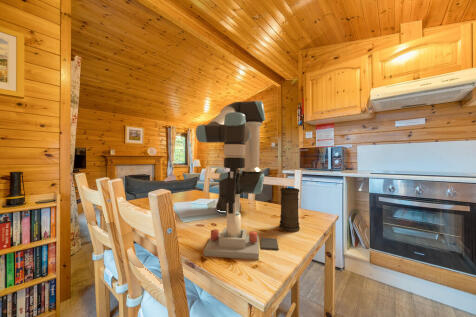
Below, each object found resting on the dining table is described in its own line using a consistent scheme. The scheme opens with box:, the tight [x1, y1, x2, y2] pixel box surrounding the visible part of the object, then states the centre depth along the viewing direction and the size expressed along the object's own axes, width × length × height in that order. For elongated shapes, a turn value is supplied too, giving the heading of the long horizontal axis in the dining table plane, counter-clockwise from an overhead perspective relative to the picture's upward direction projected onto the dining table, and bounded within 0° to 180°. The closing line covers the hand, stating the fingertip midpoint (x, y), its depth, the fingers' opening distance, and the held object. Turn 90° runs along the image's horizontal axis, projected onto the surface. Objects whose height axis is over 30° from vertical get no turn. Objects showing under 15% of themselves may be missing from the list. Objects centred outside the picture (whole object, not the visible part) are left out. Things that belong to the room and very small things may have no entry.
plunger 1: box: [210, 229, 220, 240], centre depth 69 cm, size 3×3×3 cm
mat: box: [260, 237, 280, 251], centre depth 71 cm, size 8×6×1 cm
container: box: [279, 187, 301, 233], centre depth 86 cm, size 9×9×18 cm
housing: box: [203, 227, 260, 260], centre depth 68 cm, size 14×18×5 cm
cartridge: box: [226, 210, 242, 238], centre depth 68 cm, size 5×5×11 cm
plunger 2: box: [248, 231, 258, 243], centre depth 67 cm, size 3×3×3 cm
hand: (233, 216), depth 68 cm, fingers open, 13 cm apart
